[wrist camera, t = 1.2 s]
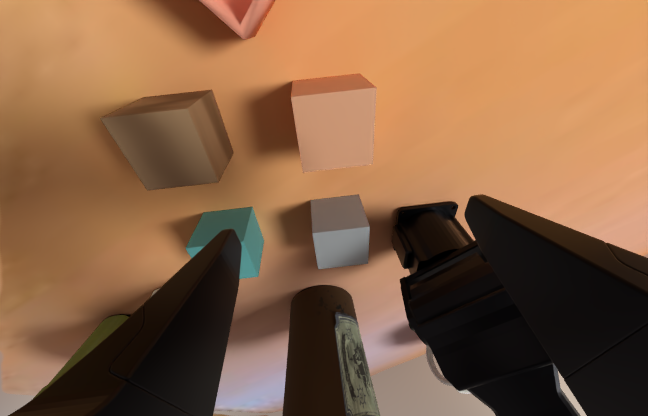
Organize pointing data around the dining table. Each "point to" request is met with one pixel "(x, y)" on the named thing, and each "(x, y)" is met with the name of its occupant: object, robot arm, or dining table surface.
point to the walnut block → (172, 139)
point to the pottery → (241, 14)
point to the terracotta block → (334, 121)
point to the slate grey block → (340, 231)
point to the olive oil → (326, 357)
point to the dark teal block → (244, 228)
